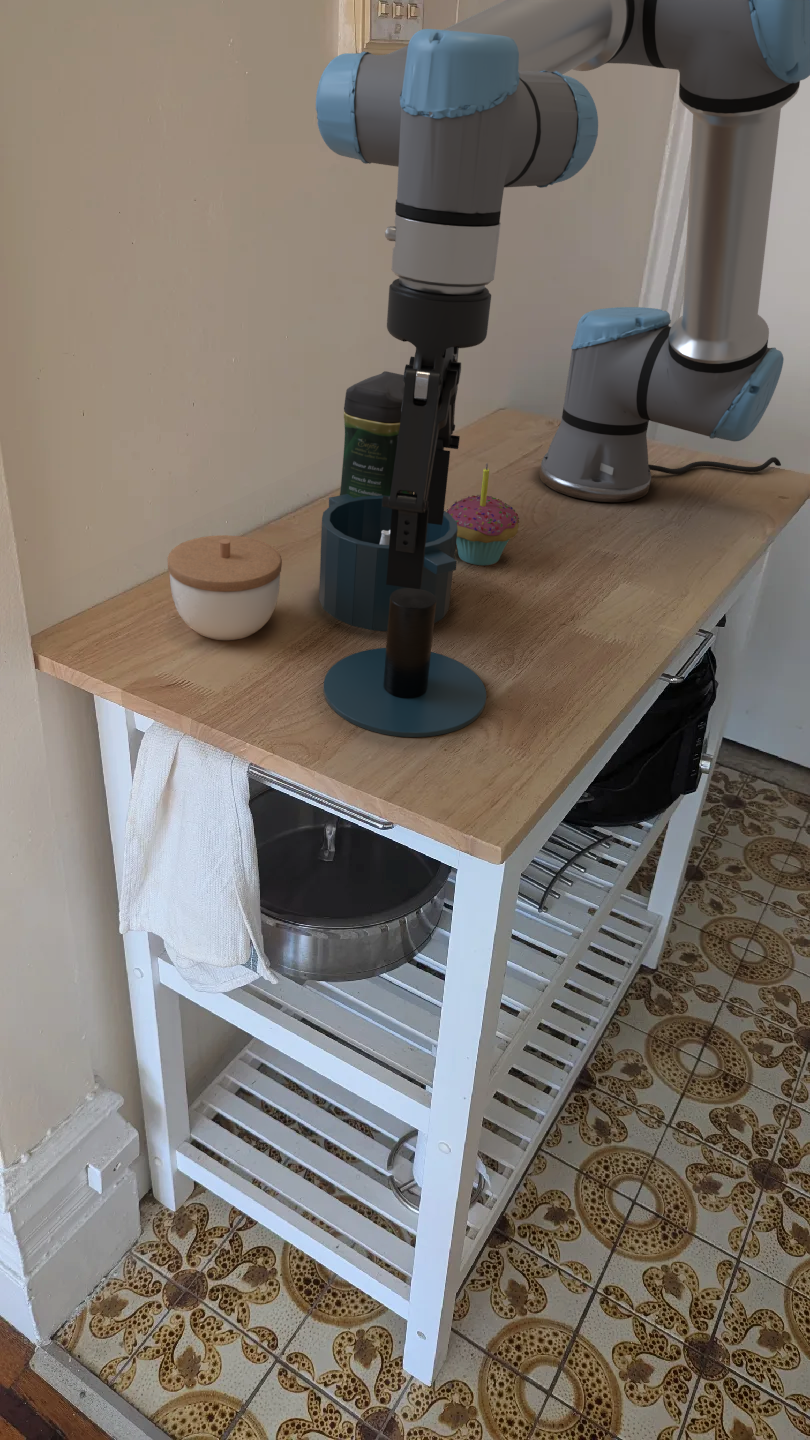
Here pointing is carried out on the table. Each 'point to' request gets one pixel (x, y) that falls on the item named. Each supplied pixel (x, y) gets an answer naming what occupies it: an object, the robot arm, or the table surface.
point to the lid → (406, 678)
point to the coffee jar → (371, 435)
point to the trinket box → (225, 584)
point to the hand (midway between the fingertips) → (416, 551)
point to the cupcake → (483, 526)
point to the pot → (375, 562)
